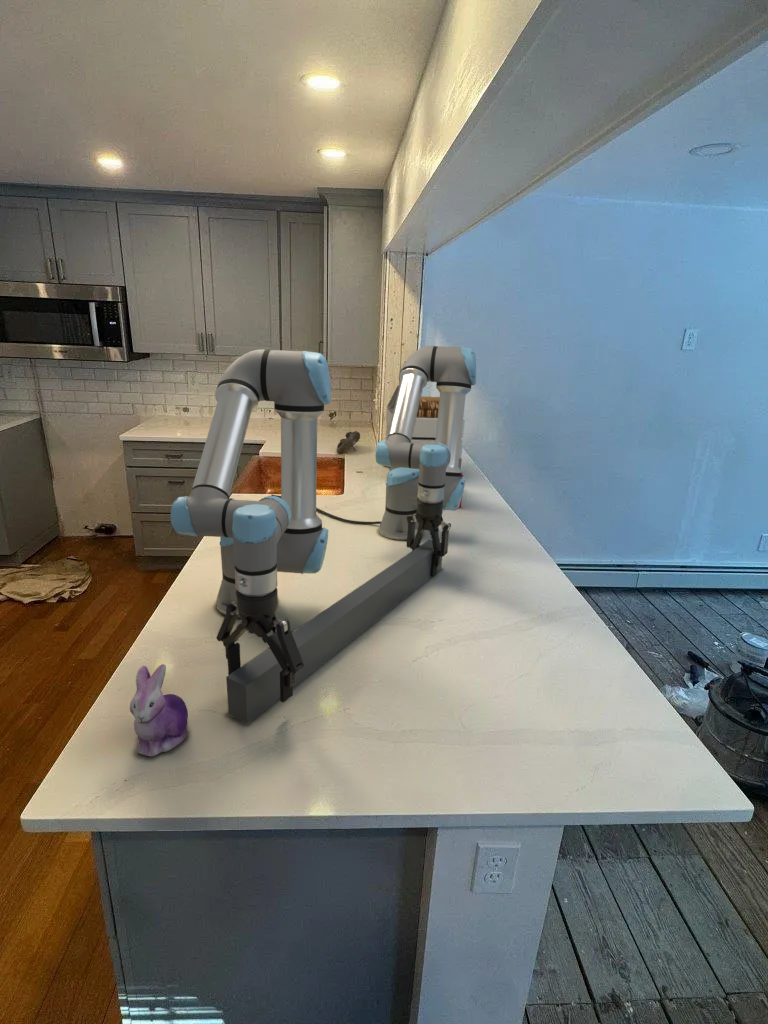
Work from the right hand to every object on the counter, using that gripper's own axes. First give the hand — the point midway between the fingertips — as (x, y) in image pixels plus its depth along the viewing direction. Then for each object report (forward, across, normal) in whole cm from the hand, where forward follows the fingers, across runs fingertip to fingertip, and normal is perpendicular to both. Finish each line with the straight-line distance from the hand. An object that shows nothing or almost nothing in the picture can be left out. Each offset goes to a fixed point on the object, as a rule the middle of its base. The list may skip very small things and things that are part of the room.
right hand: (425, 572), depth 170 cm
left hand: (-3, 0, -71) cm, 71 cm away
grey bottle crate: (0, -54, +98) cm, 111 cm away
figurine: (+1, -7, -88) cm, 89 cm away
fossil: (0, -107, +113) cm, 155 cm away
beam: (+1, 0, -36) cm, 36 cm away
